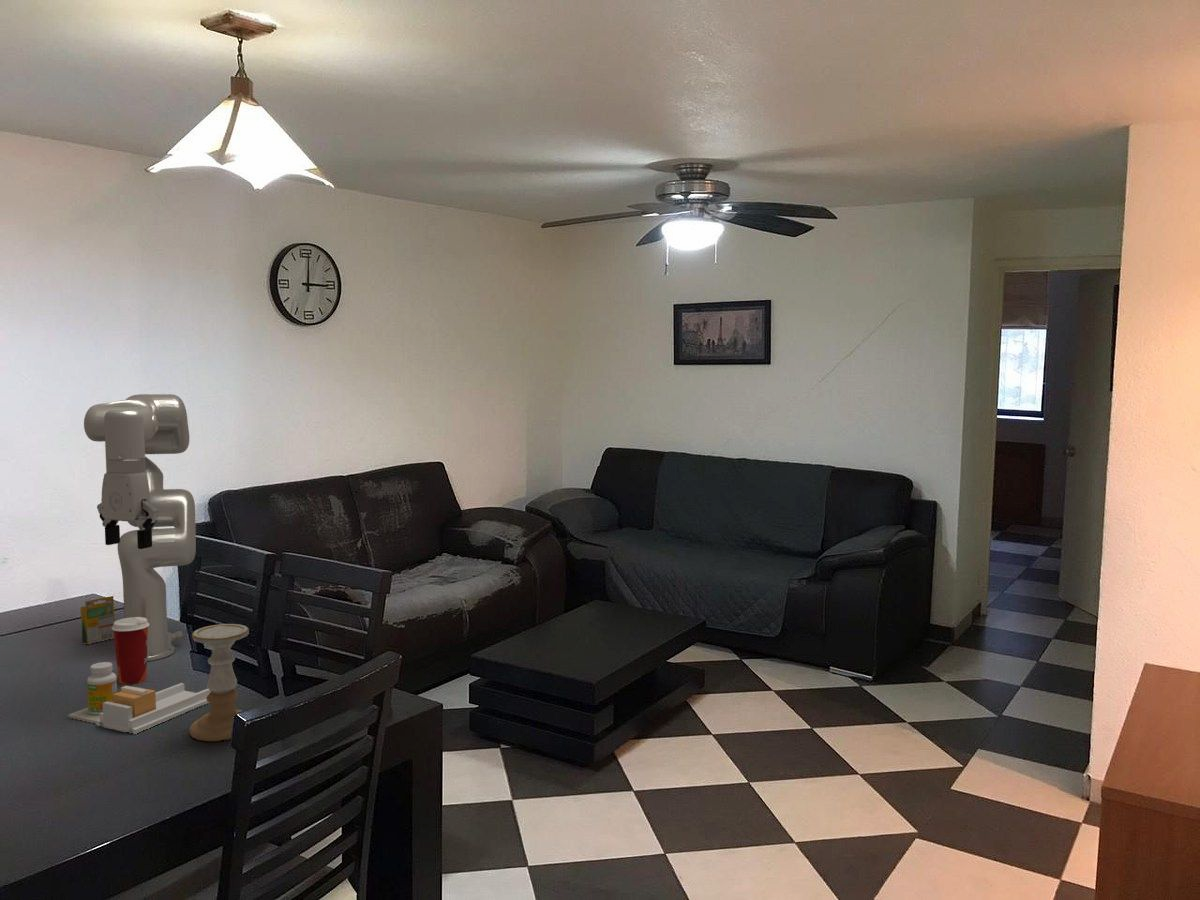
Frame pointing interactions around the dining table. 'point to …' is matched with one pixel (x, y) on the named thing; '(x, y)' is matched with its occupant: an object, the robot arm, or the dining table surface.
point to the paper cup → (131, 649)
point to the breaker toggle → (136, 699)
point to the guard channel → (167, 707)
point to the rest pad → (84, 716)
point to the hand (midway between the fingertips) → (128, 546)
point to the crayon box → (97, 620)
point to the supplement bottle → (100, 687)
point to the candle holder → (219, 681)
